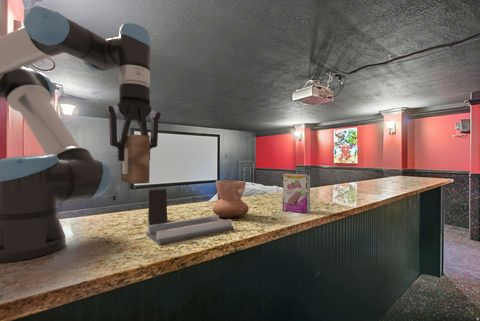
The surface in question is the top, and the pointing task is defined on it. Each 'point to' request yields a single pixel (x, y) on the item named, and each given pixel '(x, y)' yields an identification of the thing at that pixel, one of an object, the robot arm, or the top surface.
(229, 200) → the ceramic jug
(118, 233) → the top surface
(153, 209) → the door stopper
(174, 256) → the top surface
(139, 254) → the top surface
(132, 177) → the brown wooden block
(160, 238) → the door track
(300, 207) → the candy bar box
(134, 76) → the robot arm
